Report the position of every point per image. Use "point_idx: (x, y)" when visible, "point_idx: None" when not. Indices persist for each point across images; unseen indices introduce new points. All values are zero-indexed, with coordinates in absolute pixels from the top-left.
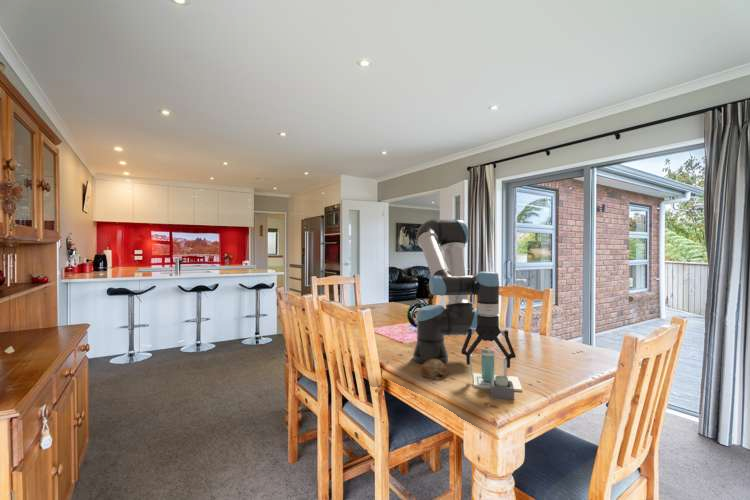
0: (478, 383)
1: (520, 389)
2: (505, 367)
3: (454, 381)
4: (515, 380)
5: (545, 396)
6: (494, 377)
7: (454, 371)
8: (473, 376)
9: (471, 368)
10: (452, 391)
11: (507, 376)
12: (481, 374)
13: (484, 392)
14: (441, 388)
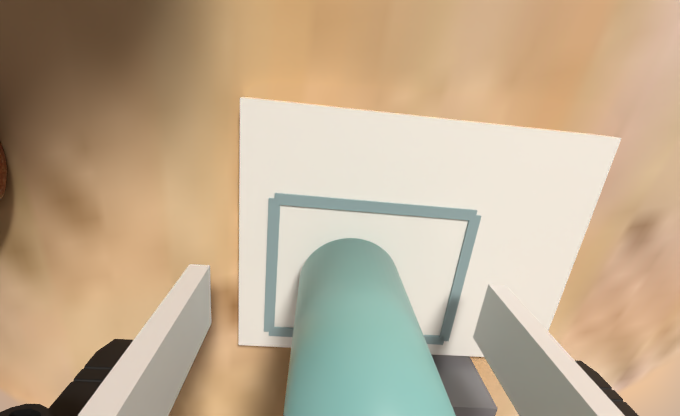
0: (272, 325)
1: None
2: (526, 413)
3: (99, 263)
4: (563, 221)
5: (625, 381)
6: (416, 183)
7: (48, 7)
8: (240, 188)
9: (186, 367)
10: None
11: (536, 141)
12: (315, 126)
13: None
14: (38, 383)
